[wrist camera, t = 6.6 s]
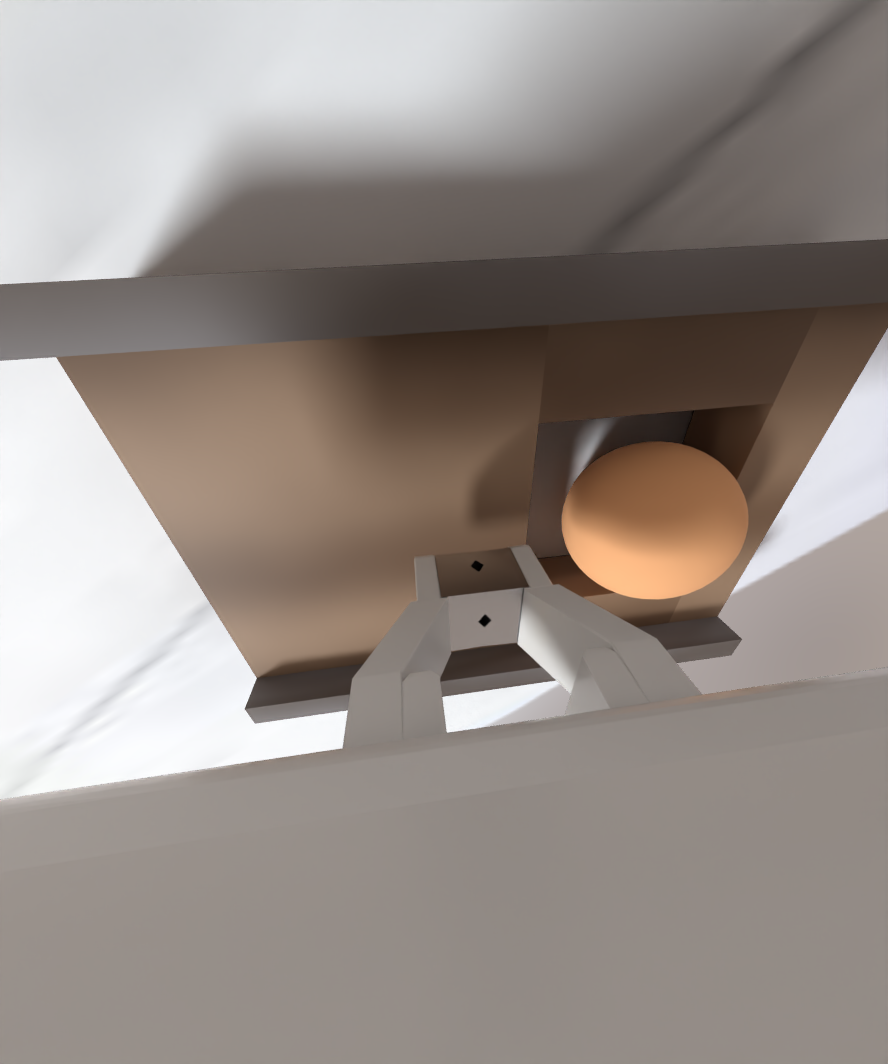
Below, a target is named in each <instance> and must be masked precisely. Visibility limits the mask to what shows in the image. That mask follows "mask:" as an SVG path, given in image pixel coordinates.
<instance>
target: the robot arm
mask: <svg viewBox="0 0 888 1064" xmlns="http://www.w3.org/2000/svg"><path fill="white" fill-rule="evenodd" d="M414 565H415V580H416V596H417V601H414V602H410V604H409V605H408V606H407V608H406V609H405V610H404V612H403V613H402V614H401V616H400V617H399V618H398V619H397V621H396V622H395V623H394V625H393V626H392V627H391V629H390V630H389V631H388V633H387V634H386V635H385V637H384V638H383V639H382V640H381V642H380V643H379V644H378V646H377V647H376V648H375V650H374V651H373V652H372V654H371V655H370V656H369V657H368V659H367V660H366V661H365V663H364V664H363V665H362V667H361V668H360V669H359V671H358V672H357V673H356V675H355V676H354V677H353V678H352V684H351V691H350V699H349V706H348V713H347V721H346V728H345V735H344V743H343V749H336V750H329V751H323V752H316V753H309V754H302V755H296V756H289V757H282V758H276V759H269V760H262V761H255V762H249V763H242V764H235V765H229V766H222V767H215V768H208V769H202V770H195V771H188V772H182V773H175V774H168V775H161V776H155V777H148V778H141V779H134V780H128V781H121V782H114V783H107V784H101V785H94V786H87V787H80V788H74V789H67V790H60V791H53V792H47V793H40V794H33V795H26V796H20V797H13V798H6V799H0V1064H888V667H886V668H878V669H871V670H865V671H858V672H851V673H844V674H838V675H832V676H824V677H818V678H811V679H805V680H798V681H791V682H784V683H777V684H772V685H764V686H758V687H751V688H745V689H737V690H731V691H724V692H717V693H711V694H705V695H702V694H701V692H700V691H699V690H698V689H697V687H696V686H695V685H694V684H693V683H692V681H691V680H690V679H689V678H688V676H687V675H686V674H685V673H684V672H683V670H682V669H681V668H680V667H679V665H678V664H677V663H676V662H675V660H674V659H673V658H672V657H671V655H670V654H669V653H668V652H667V650H666V649H665V648H664V647H663V646H662V644H661V643H660V642H659V641H658V639H657V638H655V637H653V636H651V635H649V634H648V633H646V632H644V631H642V630H640V629H639V628H637V627H635V626H633V625H631V624H630V623H628V622H626V621H624V620H622V619H621V618H619V617H617V616H615V615H613V614H611V613H610V612H608V611H606V610H604V609H602V608H601V607H599V606H597V605H595V604H593V603H592V602H590V601H588V600H586V599H584V598H583V597H581V596H579V595H577V594H575V593H574V592H572V591H570V590H568V589H566V588H565V587H563V586H561V585H559V584H556V585H553V584H552V583H551V581H550V579H549V578H548V576H547V574H546V572H545V571H544V569H543V567H542V566H541V564H540V562H539V561H538V559H537V557H536V556H535V554H534V552H533V551H532V549H531V547H530V546H529V545H527V544H525V545H518V546H511V547H508V548H500V549H491V550H482V551H474V552H472V551H471V552H460V553H448V554H437V555H428V556H418V557H415V559H414ZM508 643H518V645H519V646H520V647H521V648H522V649H523V650H524V651H525V652H527V653H528V654H529V655H530V656H531V657H532V658H533V659H534V660H535V661H536V662H537V663H538V664H539V665H540V666H541V667H542V668H544V669H545V670H546V671H547V672H548V673H549V674H550V675H551V676H552V677H553V678H554V679H555V680H556V681H557V682H558V683H560V684H561V685H562V686H563V687H564V688H565V689H566V690H567V691H568V692H569V693H570V694H571V696H570V699H569V702H568V705H567V709H566V712H565V715H563V716H556V717H550V718H543V719H537V720H530V721H523V722H517V723H510V724H503V725H497V726H490V727H483V728H477V729H470V730H463V731H457V732H450V733H447V732H446V724H445V716H444V708H443V700H442V692H441V684H440V677H441V675H442V673H443V671H444V668H445V666H446V664H447V662H448V659H449V657H450V655H451V651H456V650H462V649H468V648H474V647H481V646H489V645H498V644H508Z"/></svg>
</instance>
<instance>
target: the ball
mask: <svg viewBox="0 0 888 1064" xmlns="http://www.w3.org/2000/svg"><path fill="white" fill-rule="evenodd" d="M747 530H748V507H747V503H746V499H745V496H744V494H743V492H742V490H741V488H740V485H739V484H738V482H737V480H736V479H735V477H734V476H733V475H732V474H731V473H730V472H729V471H728V470H727V468H726V467H725V466H723V465H722V464H721V463H720V462H719V461H717V460H716V459H714V458H713V457H711V456H710V455H708V454H706V453H705V452H702V451H700V450H698V449H695V448H693V447H690V446H687V445H683V444H679V443H672V442H663V441H652V442H641V443H635V444H631V445H627V446H623V447H621V448H618V449H615V450H613V451H611V452H608V453H607V454H605V455H603V456H602V457H600V458H598V459H597V460H595V461H594V462H593V463H592V464H590V465H589V466H588V467H587V468H586V469H585V470H584V471H583V472H582V473H581V474H580V475H579V476H578V478H577V479H576V480H575V482H574V483H573V485H572V486H571V488H570V490H569V492H568V494H567V497H566V500H565V502H564V506H563V512H562V533H563V537H564V541H565V544H566V547H567V549H568V551H569V553H570V555H571V557H572V559H573V560H574V562H575V563H576V564H577V566H578V567H579V568H580V569H581V570H582V571H583V572H584V573H585V574H586V575H587V576H588V577H589V578H591V579H592V580H593V581H595V582H596V583H597V584H599V585H601V586H603V587H604V588H606V589H608V590H611V591H613V592H615V593H618V594H621V595H625V596H628V597H633V598H640V599H667V598H673V597H678V596H682V595H686V594H689V593H691V592H694V591H696V590H698V589H701V588H703V587H705V586H706V585H708V584H710V583H711V582H713V581H714V580H716V579H717V578H718V577H719V576H721V575H722V574H723V573H724V572H725V571H726V570H727V569H728V568H729V567H730V566H731V564H732V563H733V562H734V560H735V559H736V557H737V556H738V555H739V553H740V551H741V549H742V547H743V544H744V541H745V538H746V534H747Z"/></svg>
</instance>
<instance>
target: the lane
mask: <svg viewBox="0 0 888 1064" xmlns="http://www.w3.org/2000/svg"><path fill="white" fill-rule="evenodd" d="M887 328H888V239H885V240H865V241H846V242H826V243H806V244H787V245H767V246H747V247H728V248H708V249H688V250H669V251H649V252H629V253H610V254H590V255H570V256H551V257H531V258H511V259H492V260H472V261H452V262H433V263H413V264H393V265H374V266H354V267H334V268H315V269H295V270H275V271H256V272H236V273H216V274H197V275H177V276H157V277H138V278H118V279H98V280H79V281H59V282H39V283H20V284H0V361H3V360H18V359H33V358H48V357H56V358H57V359H58V361H59V362H60V364H61V366H62V367H63V369H64V370H65V372H66V374H67V375H68V377H69V378H70V380H71V382H72V383H73V385H74V386H75V388H76V390H77V391H78V393H79V394H80V396H81V398H82V399H83V401H84V402H85V404H86V406H87V407H88V409H89V410H90V412H91V413H92V415H93V417H94V418H95V420H96V421H97V423H98V425H99V426H100V428H101V429H102V431H103V433H104V434H105V436H106V437H107V439H108V441H109V442H110V444H111V445H112V447H113V449H114V450H115V452H116V453H117V455H118V457H119V458H120V460H121V461H122V463H123V465H124V466H125V468H126V469H127V471H128V473H129V474H130V476H131V477H132V479H133V481H134V482H135V484H136V485H137V487H138V489H139V490H140V492H141V493H142V495H143V497H144V498H145V500H146V501H147V503H148V505H149V506H150V508H151V509H152V511H153V513H154V514H155V516H156V517H157V519H158V521H159V522H160V524H161V525H162V527H163V529H164V530H165V532H166V533H167V535H168V537H169V538H170V540H171V541H172V543H173V545H174V546H175V548H176V549H177V551H178V553H179V554H180V556H181V557H182V559H183V561H184V562H185V564H186V565H187V567H188V569H189V570H190V572H191V573H192V575H193V577H194V578H195V580H196V581H197V583H198V585H199V586H200V588H201V589H202V591H203V593H204V594H205V596H206V597H207V599H208V601H209V602H210V604H211V605H212V607H213V609H214V610H215V612H216V613H217V615H218V617H219V618H220V620H221V621H222V623H223V625H224V626H225V628H226V629H227V631H228V633H229V634H230V636H231V637H232V639H233V641H234V642H235V644H236V645H237V647H238V649H239V650H240V652H241V653H242V655H243V657H244V658H245V660H246V661H247V663H248V665H249V666H250V668H251V669H252V671H253V673H254V674H255V676H256V677H257V679H256V682H255V684H254V687H253V689H252V692H251V695H250V697H249V700H248V702H247V705H246V707H245V710H246V712H247V713H248V714H249V716H250V717H251V718H252V720H253V721H254V723H262V722H269V721H276V720H283V719H290V718H297V717H304V716H311V715H318V714H325V713H332V712H339V711H346V710H348V706H349V699H350V691H351V684H352V678H353V677H354V676H355V675H356V673H357V672H358V671H359V669H360V668H361V667H362V665H363V664H364V663H365V661H366V660H367V659H368V657H369V656H370V655H371V654H372V652H373V651H374V650H375V648H376V647H377V646H378V644H379V643H380V642H381V640H382V639H383V638H384V637H385V635H386V634H387V633H388V631H389V630H390V629H391V627H392V626H393V625H394V623H395V622H396V621H397V619H398V618H399V617H400V616H401V614H402V613H403V612H404V610H405V609H406V608H407V606H408V605H409V604H410V602H414V601H417V596H416V580H415V565H414V559H415V557H418V556H428V555H437V554H448V553H460V552H471V551H472V552H474V551H482V550H491V549H500V548H508V547H511V546H518V545H525V544H526V538H527V529H528V519H529V510H530V500H531V491H532V481H533V472H534V462H535V453H536V443H537V434H538V424H540V423H552V422H563V421H575V420H586V419H598V418H609V417H621V416H632V415H644V414H655V413H667V412H678V411H690V410H694V413H693V416H692V418H691V421H690V424H689V427H688V430H687V432H686V435H685V438H684V441H683V445H687V446H690V447H693V448H695V449H698V450H700V451H702V452H705V453H706V454H708V455H710V456H711V457H713V458H714V459H716V460H717V461H719V462H720V463H721V464H722V465H723V466H725V467H726V468H727V470H728V471H729V472H730V473H731V474H732V475H733V476H734V477H735V479H736V480H737V482H738V484H739V485H740V488H741V490H742V492H743V494H744V496H745V499H746V503H747V507H748V530H747V534H746V538H745V541H744V544H743V547H742V549H741V551H740V553H739V555H738V556H737V557H736V559H735V560H734V562H733V563H732V564H731V566H730V567H729V568H728V569H727V570H726V571H725V572H724V573H723V574H722V575H721V576H719V577H718V578H717V579H716V580H714V581H713V582H711V583H710V584H708V585H706V586H705V587H703V588H701V589H698V590H696V591H694V592H691V593H689V594H686V595H682V596H678V597H673V598H667V599H640V598H633V597H628V596H625V595H621V594H618V593H615V592H613V591H611V590H608V589H606V588H604V587H603V586H601V585H599V584H597V583H596V582H595V581H593V580H592V579H591V578H589V577H588V576H587V575H586V574H585V573H584V572H583V571H582V570H581V569H580V568H579V567H578V566H577V564H576V563H575V562H574V560H573V559H572V557H571V555H567V556H559V557H550V558H541V559H538V561H539V562H540V564H541V566H542V567H543V569H544V571H545V572H546V574H547V576H548V578H549V579H550V581H551V583H552V584H553V585H556V584H559V585H561V586H563V587H565V588H566V589H568V590H570V591H572V592H574V593H575V594H577V595H579V596H581V597H583V598H584V599H586V600H588V601H590V602H592V603H593V604H595V605H597V606H599V607H601V608H602V609H604V610H606V611H608V612H610V613H611V614H613V615H615V616H617V617H619V618H621V619H622V620H624V621H626V622H628V623H630V624H631V625H633V626H635V627H637V628H639V629H640V630H642V631H644V632H646V633H648V634H649V635H651V636H653V637H655V638H657V639H658V641H659V642H660V643H661V644H662V646H663V647H664V648H665V649H666V650H667V652H668V653H669V654H670V655H671V657H672V658H673V659H674V660H675V662H676V663H681V662H687V661H695V660H701V659H709V658H715V657H723V656H729V655H732V653H733V652H734V650H735V649H736V647H737V646H738V645H739V643H740V642H741V640H742V639H741V638H740V637H739V636H738V635H737V634H736V633H735V632H734V631H733V630H731V629H730V628H729V627H728V626H727V625H726V624H725V623H724V622H723V621H722V620H721V619H720V618H718V617H717V616H718V614H719V613H720V611H721V609H722V608H723V606H724V604H725V603H726V601H727V599H728V598H729V596H730V594H731V592H732V591H733V589H734V587H735V586H736V584H737V582H738V581H739V579H740V577H741V575H742V574H743V572H744V570H745V569H746V567H747V565H748V564H749V562H750V560H751V559H752V557H753V555H754V553H755V552H756V550H757V548H758V547H759V545H760V543H761V542H762V540H763V538H764V537H765V535H766V533H767V531H768V530H769V528H770V526H771V525H772V523H773V521H774V520H775V518H776V516H777V515H778V513H779V511H780V509H781V508H782V506H783V504H784V503H785V501H786V499H787V498H788V496H789V494H790V492H791V491H792V489H793V487H794V486H795V484H796V482H797V481H798V479H799V477H800V476H801V474H802V472H803V470H804V469H805V467H806V465H807V464H808V462H809V460H810V459H811V457H812V455H813V454H814V452H815V450H816V448H817V447H818V445H819V443H820V442H821V440H822V438H823V437H824V435H825V433H826V431H827V430H828V428H829V426H830V425H831V423H832V421H833V420H834V418H835V416H836V415H837V413H838V411H839V409H840V408H841V406H842V404H843V403H844V401H845V399H846V398H847V396H848V394H849V393H850V391H851V389H852V387H853V386H854V384H855V382H856V381H857V379H858V377H859V376H860V374H861V372H862V370H863V369H864V367H865V365H866V364H867V362H868V360H869V359H870V357H871V355H872V354H873V352H874V350H875V348H876V347H877V345H878V343H879V342H880V340H881V338H882V337H883V335H884V333H885V332H886V330H887ZM548 681H555V679H554V678H553V677H552V676H551V675H550V674H549V673H548V672H547V671H546V670H545V669H544V668H542V667H541V666H540V665H539V664H538V663H537V662H536V661H535V660H534V659H533V658H532V657H531V656H530V655H529V654H528V653H527V652H525V651H524V650H523V649H522V648H521V647H520V646H519V645H518V643H508V644H498V645H489V646H481V647H474V648H468V649H462V650H456V651H451V655H450V657H449V659H448V662H447V664H446V666H445V668H444V671H443V673H442V675H441V677H440V684H441V692H442V697H444V696H451V695H458V694H465V693H471V692H478V691H485V690H492V689H499V688H506V687H513V686H520V685H527V684H534V683H541V682H548Z"/></svg>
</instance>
